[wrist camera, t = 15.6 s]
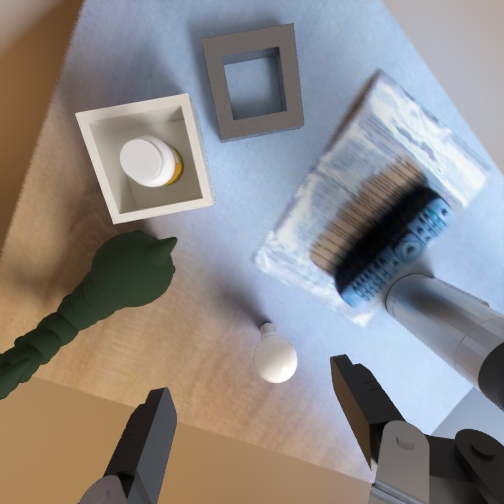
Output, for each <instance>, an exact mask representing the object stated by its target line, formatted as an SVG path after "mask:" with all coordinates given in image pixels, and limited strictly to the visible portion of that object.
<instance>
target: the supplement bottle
mask: <svg viewBox="0 0 504 504" xmlns="http://www.w3.org/2000/svg"><path fill="white" fill-rule="evenodd" d="M120 163H121V166H122V168H123V170H124V171H125V172H126V174H127V175H129V176H130V177H131V178H132V179H133V180H135V181H136V182H137V183H139V184H141V185H143V186H147V187H159V186H167V185H172V184H174V183H176V182H177V181H178V180H179V179H180V178H181V176H182V174H183V172H184V162H183V159H182V156H181V154H180V153H179V152H178V150H177V149H175V148H174V147H173V146H171V145H169V144H168V143H166V142H164V141H162V140H160V139H158V138H156V137H153V136H139V137H137V138H135V139H132V140H130V141H128V142H126V143H125V144H124V145H123V147H122V149H121V151H120Z"/></svg>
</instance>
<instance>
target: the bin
mask: <svg viewBox="0 0 504 504" xmlns="http://www.w3.org/2000/svg"><path fill="white" fill-rule="evenodd" d="M75 115H76V118H77V121H78V124H79V126H80V129H81V132H82V135H83V138H84V141H85V144H86V146H87V149H88V152H89V155H90V158H91V161H92V164H93V167H94V169H95V172H96V175H97V178H98V181H99V184H100V187H101V189H102V192H103V195H104V198H105V201H106V204H107V207H108V209H109V212H110V215H111V218H112V221H113V224H118V223H123V222H128V221H134V220H139V219H144V218H149V217H154V216H160V215H165V214H170V213H175V212H180V211H186V210H191V209H196V208H201V207H207V206H212V205H214V203H215V201H216V198H215V193H214V189H213V184H212V180H211V175H210V171H209V166H208V162H207V157H206V152H205V148H204V143H203V139H202V134H201V130H200V125H199V121H198V116H197V111H196V109H195V107H194V104H193V102H192V100H191V98H190V96H189V94H188V93H186V94H180V95H174V96H169V97H163V98H157V99H152V100H146V101H140V102H135V103H129V104H123V105H118V106H112V107H106V108H101V109H95V110H89V111H84V112H78V113H75ZM139 136H153V137H156V138H158V139H160V140H162V141H164V142H166V143H168V144H169V145H171V146H173V147H174V148H175V149H177V150H178V152H179V153H180V154H181V156H182V159H183V162H184V172H183V174H182V176H181V178H180V179H179V180H178V181H177V182H176V183H174V184H172V185H167V186H159V187H147V186H143V185H141V184H139V183H137V182H136V181H135V180H133V179H132V178H131V177H130V176H129V175H127V174H126V172H125V171H124V170H123V168H122V166H121V163H120V151H121V149H122V147H123V145H124V144H125V143H126V142H128V141H130V140H132V139H135V138H137V137H139Z"/></svg>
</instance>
